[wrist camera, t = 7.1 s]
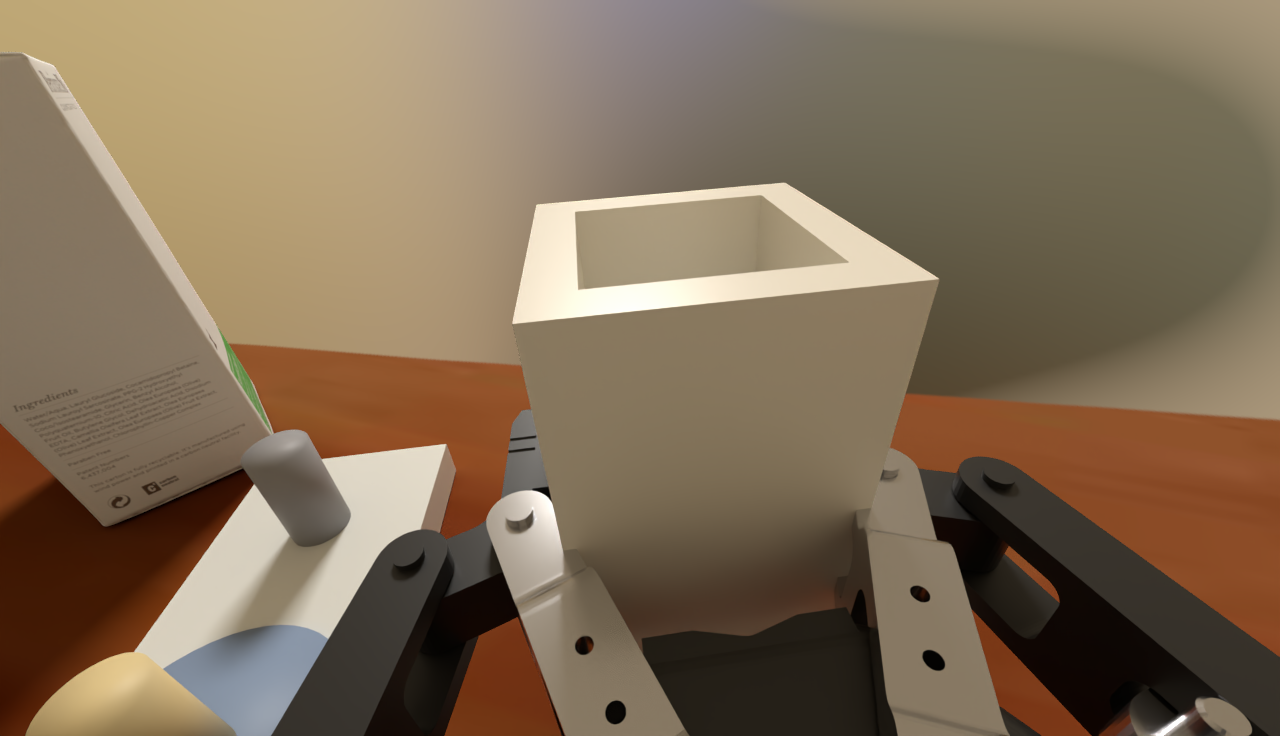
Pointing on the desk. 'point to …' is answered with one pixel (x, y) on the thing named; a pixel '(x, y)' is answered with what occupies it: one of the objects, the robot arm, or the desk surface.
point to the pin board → (259, 595)
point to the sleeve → (714, 395)
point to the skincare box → (103, 320)
